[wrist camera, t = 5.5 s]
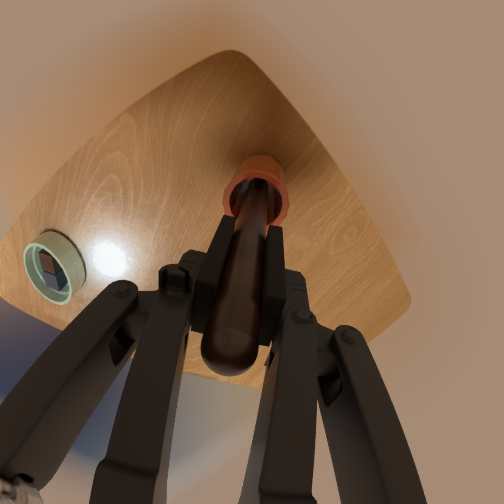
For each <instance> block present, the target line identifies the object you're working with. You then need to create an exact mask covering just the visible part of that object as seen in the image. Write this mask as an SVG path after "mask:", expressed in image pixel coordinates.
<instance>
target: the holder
mask: <svg viewBox="0 0 504 504" xmlns="http://www.w3.org/2000/svg"><path fill="white" fill-rule="evenodd" d="M254 178H261V179H265V180H266V181H267V183H268V187H269V188H268V207H267V225H266V232H268V228H269V224H270V225H275V226H279V225H280V224H281V223H282V221H283V220H284V219H285V218H286V216H287V212H288V209H289V197H288V191H287V186H286V181H285V176H284V171H283V169H282V167H281V165H280V164H279V162H278V161H277V160H275V159H274V158H273V157H271V156H268V155H264V154H257V155H252V156H250V157H248V158H247V159H245V160H244V161H243V162H242V163H241V165H240V166H239V168H238V169H237V171H236V172H235V174H234V175H233V177H232V179H231V180H230V182H229V184H228V185H227V187H226V189H225V191H224V195H223V201H222V202H223V203H222V204H223V208H224V212H225V214H226V215H228V216H233V217H237V218H236V222H237V219H238V216H239V213H240V210H241V207H242V203H243V200H244V197H245V194H246V191H247V188H248V185H249V182H250V181H251V180H252V179H254ZM235 226H236V223H235Z"/></svg>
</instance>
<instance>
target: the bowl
mask: <svg viewBox="0 0 504 504" xmlns="http://www.w3.org/2000/svg"><path fill="white" fill-rule="evenodd" d="M41 249H45V250H46V251H48V252H49V253H50V254H51V255H52V256H53V257H54V258H55V259H56V260H57V261H58V263H59V265H60V266H61V268H62V269H63V271H64V273H65V275H66V277H67V280H68V283H67V284H66V285H65V286H64V287H63V288H62V289H61V291H60V292H59V291H56V290H54V289H51V288H49V287H47V286H46V283H45V279H44V275H43V270H42V267H41V263H40V258H39V254H38V252H39V251H40V250H41ZM23 262H24V266H25V270H26V273H27V275H28V277H29V279H30V281H31V283H32V284H33V285H34V287H35V288H36V290H37V291H38V292H39V293H40V294H41V295H42V296H43V297H45V298H46V299H47V300H49V301H51V302H53V303H55V304H62V305H63V304H66V303H68V302H69V301H70V300H71V299H72V297H73V296H74V295H75V294H76V293H77V291H78V290H79V289H80V288H81V286H82V285H83V283H84V279H85V272H84V266H83V263H82V260H81V258H80V255H79V253H78V252H77V250H76V249H75V247H74V246H73V245H72V243H71V242H70V241H69V240H67V239H66V238H65V237H63V236H62V235H60V234H59V233H56V232H53V231H48V232H44V233H43V234H41V235H40V236H39V237H37V238H36V239H35V240H33V241H32V242H31V243H30V244H28V245H27V246H26V247H25V250H24V253H23Z"/></svg>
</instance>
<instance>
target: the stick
mask: <svg viewBox="0 0 504 504" xmlns="http://www.w3.org/2000/svg"><path fill="white" fill-rule="evenodd" d="M268 188H269V187H268V183H267V181H266V180H265V179H261V178H254V179H252V180H251V181H250V182H249V185H248V188H247V191H246V194H245V197H244V200H243V203H242V207H241V210H240V213H239V216H238V219H237V222H236V226H235V229H234V234H233V237H232V240H231V243H230V247H229V250H228V253H227V257H226V260H225V263H224V267H223V270H222V274H221V277H220V280H219V284H218V287H217V291H216V294H215V297H214V301H213V304H212V307H211V309H210V312H209V316H208V319H207V323H206V326H205V330H204V333H203V337H202V340H201V346H200V348H201V355H202V358H203V360H204V362H205V364H206V365H207V366H208V367H209V368H210V369H211V370H212V371H214V372H215V373H217V374H219V375H223V376H236V375H240V374H242V373H244V372H246V371H247V370H249V369H250V368H251V366H252V365H253V364H254V362H255V360H256V358H257V354H258V348H259V334H260V320H261V317H260V314H261V300H262V285H263V270H264V254H265V240H266V225H267V207H268Z"/></svg>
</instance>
